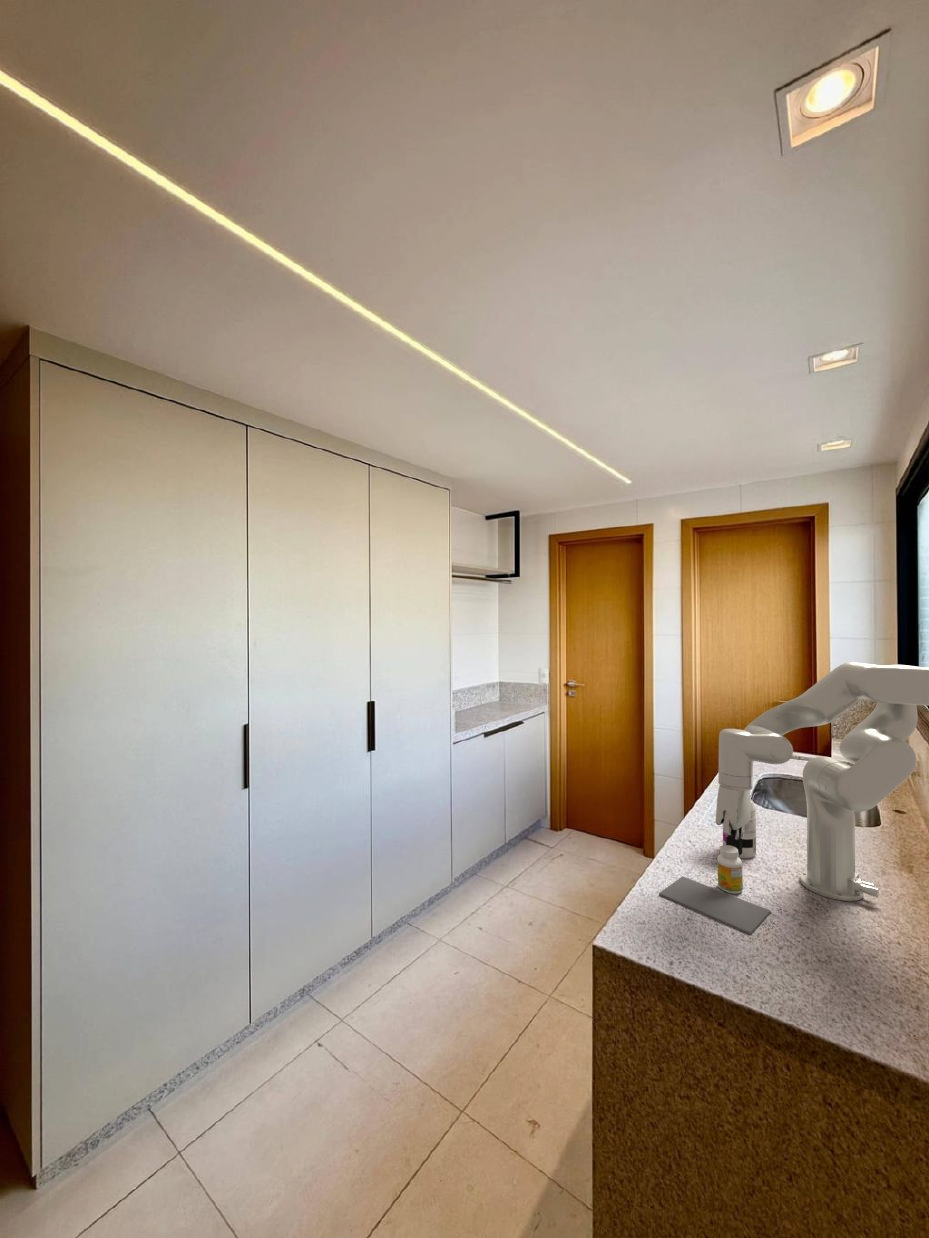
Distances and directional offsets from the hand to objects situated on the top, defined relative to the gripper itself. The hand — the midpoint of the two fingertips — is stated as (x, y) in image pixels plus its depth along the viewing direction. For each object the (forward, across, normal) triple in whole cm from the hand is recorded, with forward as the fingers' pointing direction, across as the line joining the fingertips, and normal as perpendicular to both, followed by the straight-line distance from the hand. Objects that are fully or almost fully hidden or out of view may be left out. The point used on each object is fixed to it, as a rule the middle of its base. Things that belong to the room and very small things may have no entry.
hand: (734, 852), depth 124 cm
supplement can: (+8, -19, -6) cm, 21 cm away
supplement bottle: (+8, +3, +1) cm, 8 cm away
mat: (+8, +13, +1) cm, 15 cm away
